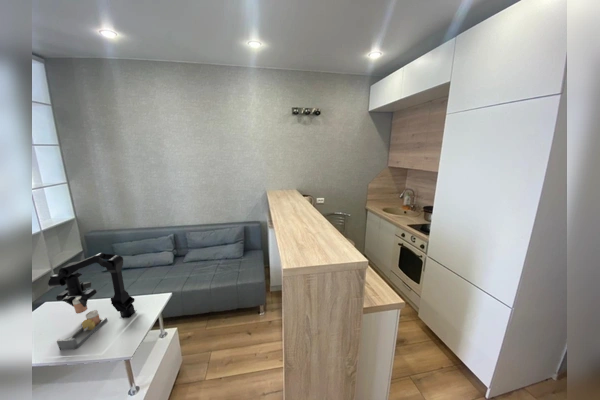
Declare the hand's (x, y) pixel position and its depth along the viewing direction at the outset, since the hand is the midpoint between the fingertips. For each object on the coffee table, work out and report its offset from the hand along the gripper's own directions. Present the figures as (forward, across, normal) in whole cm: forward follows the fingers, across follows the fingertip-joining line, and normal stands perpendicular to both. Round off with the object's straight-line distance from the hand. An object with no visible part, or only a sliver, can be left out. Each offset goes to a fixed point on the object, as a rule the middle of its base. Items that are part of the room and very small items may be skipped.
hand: (80, 306), depth 135 cm
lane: (+9, -11, +12) cm, 19 cm away
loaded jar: (+9, -11, +6) cm, 15 cm away
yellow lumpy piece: (+8, -11, +10) cm, 17 cm away
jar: (+3, 0, 0) cm, 3 cm away
